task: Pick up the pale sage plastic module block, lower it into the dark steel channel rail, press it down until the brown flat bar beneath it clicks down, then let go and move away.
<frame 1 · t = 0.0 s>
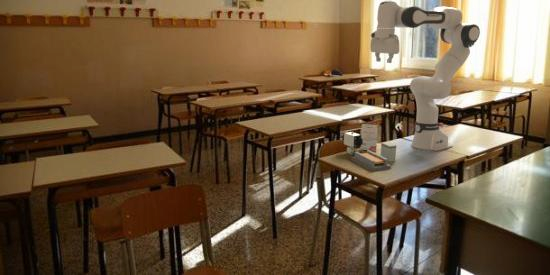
hand: (383, 62, 211), 48 cm above the table, tool pointing down, fingers open, 8 cm apart
module block: (387, 159, 212), on the table
pneumatic valve: (352, 153, 222), on the table
channel rail: (370, 164, 204), on the table
ink cartridge box: (368, 150, 228), on the table
brown flat bar: (370, 158, 203), point 3 cm above the table, slide at 0.0 cm
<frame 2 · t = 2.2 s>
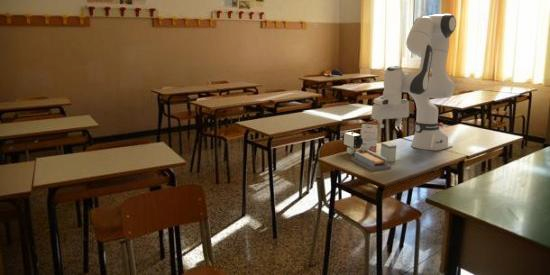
hand: (389, 127, 207), 17 cm above the table, tool pointing down, fingers open, 8 cm apart
nothing on the table moved.
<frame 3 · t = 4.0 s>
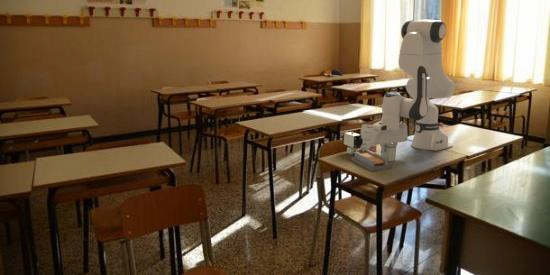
hand: (388, 151, 211), 4 cm above the table, tool pointing down, fingers closed on module block, 4 cm apart
module block: (387, 159, 212), on the table, touching gripper
everything else where it was.
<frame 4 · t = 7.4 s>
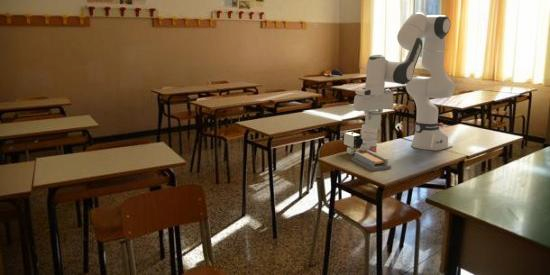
hand: (372, 118, 198), 23 cm above the table, tool pointing down, fingers closed on module block, 4 cm apart
module block: (372, 127, 199), point 19 cm above the table, touching gripper
everything else where it was.
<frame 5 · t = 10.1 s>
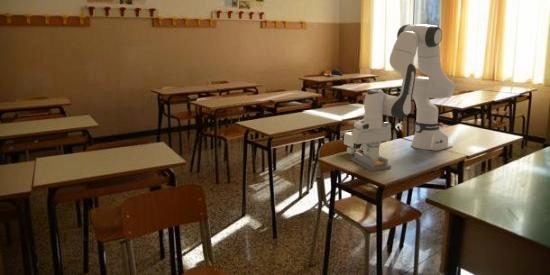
hand: (371, 150, 202), 7 cm above the table, tool pointing down, fingers closed on module block, 4 cm apart
module block: (370, 158, 203), point 3 cm above the table, touching gripper, brown flat bar
brown flat bar: (370, 159, 203), point 2 cm above the table, slide at 0.8 cm, touching module block
everything else where it was.
when the fingers open (7 cm above the table, at t = 11.0 s): module block stays where it is, resting on brown flat bar.
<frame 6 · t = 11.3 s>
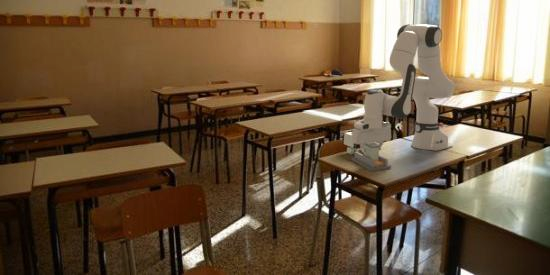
hand: (371, 150, 202), 7 cm above the table, tool pointing down, fingers open, 7 cm apart
module block: (370, 159, 203), point 3 cm above the table, touching brown flat bar
everything else where it was.
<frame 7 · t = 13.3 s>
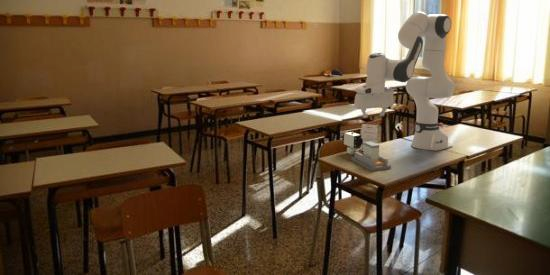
hand: (373, 116, 200), 23 cm above the table, tool pointing down, fingers open, 8 cm apart
nothing on the table moved.
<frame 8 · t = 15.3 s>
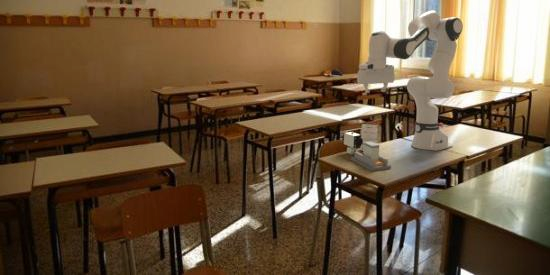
hand: (375, 92, 212), 33 cm above the table, tool pointing down, fingers open, 8 cm apart
nothing on the table moved.
at the end: brown flat bar slide at 0.9 cm; module block inside the target area on the channel rail (0.0 cm from its centre), point 2.6 cm above the channel rail's base; module block tilted 0° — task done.
